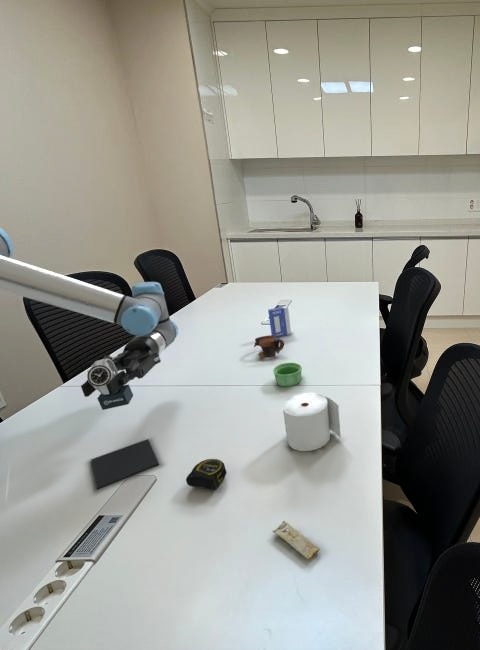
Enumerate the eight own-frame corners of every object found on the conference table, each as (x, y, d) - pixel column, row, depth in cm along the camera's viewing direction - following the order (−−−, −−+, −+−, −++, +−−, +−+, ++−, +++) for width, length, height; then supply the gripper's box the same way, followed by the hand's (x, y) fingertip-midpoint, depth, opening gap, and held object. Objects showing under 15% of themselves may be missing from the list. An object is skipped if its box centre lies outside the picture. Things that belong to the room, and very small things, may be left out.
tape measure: (186, 489, 81) (182, 475, 80) (207, 468, 87) (204, 454, 86) (214, 495, 79) (210, 481, 78) (234, 473, 85) (231, 459, 84)
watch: (99, 414, 88) (79, 371, 83) (110, 397, 95) (92, 357, 90) (126, 408, 89) (107, 366, 84) (135, 391, 96) (118, 352, 91)
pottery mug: (251, 361, 140) (247, 339, 141) (264, 361, 149) (260, 340, 150) (281, 354, 138) (277, 331, 138) (292, 355, 147) (288, 333, 148)
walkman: (274, 338, 159) (270, 310, 154) (271, 336, 161) (267, 308, 156) (291, 333, 163) (288, 306, 158) (289, 331, 165) (285, 304, 160)
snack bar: (321, 547, 67) (308, 555, 64) (319, 555, 67) (307, 563, 64) (285, 519, 72) (272, 525, 70) (283, 527, 72) (271, 533, 70)
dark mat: (91, 460, 90) (91, 459, 90) (148, 440, 97) (147, 438, 97) (97, 489, 82) (96, 487, 82) (159, 464, 89) (158, 463, 88)
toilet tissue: (282, 433, 98) (277, 399, 94) (326, 420, 103) (323, 387, 99) (294, 457, 90) (289, 420, 86) (341, 441, 95) (339, 406, 91)
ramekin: (294, 389, 119) (292, 376, 118) (269, 385, 122) (267, 372, 120) (307, 376, 127) (306, 364, 125) (283, 372, 130) (282, 361, 128)
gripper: (181, 359, 108) (143, 402, 87) (115, 362, 107) (60, 407, 85) (174, 333, 105) (134, 372, 84) (107, 337, 104) (48, 377, 82)
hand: (97, 390), depth 85 cm, fingers closed on watch, 5 cm apart
